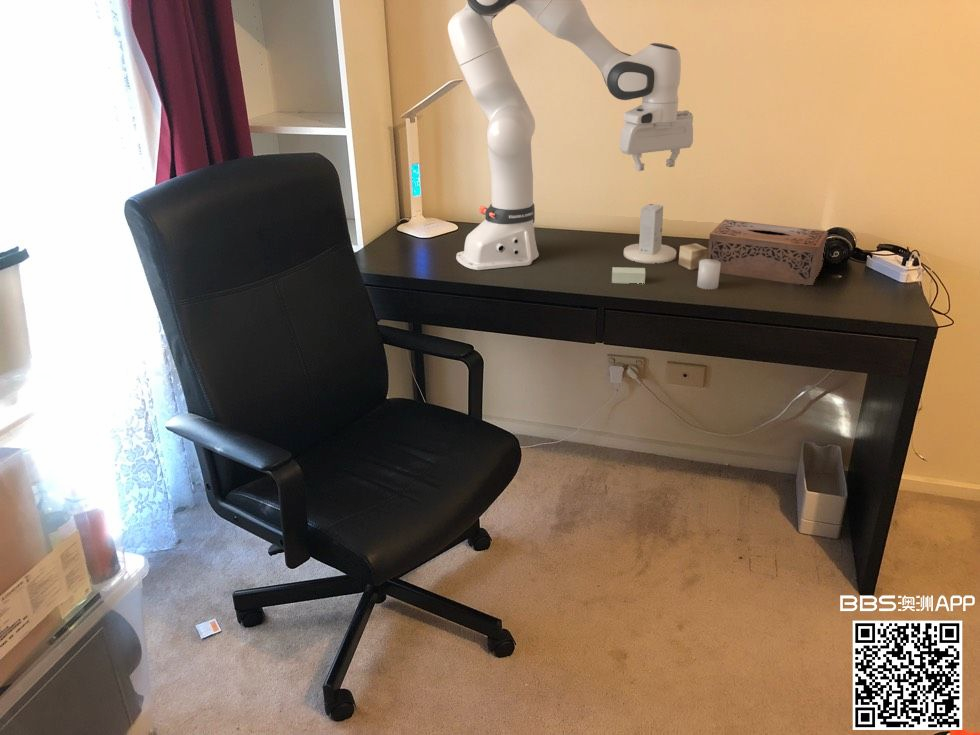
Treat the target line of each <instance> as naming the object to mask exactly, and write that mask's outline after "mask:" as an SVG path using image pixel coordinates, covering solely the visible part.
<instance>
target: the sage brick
mask: <svg viewBox="0 0 980 735" xmlns="http://www.w3.org/2000/svg"><path fill="white" fill-rule="evenodd" d="M645 281H646V268H645V267H619V266H617V267H614V266H612V270H611V283H612V284H629V283H637V285H640V284H639V283H642V284H641V285H645V284H646V282H645ZM643 283H644V284H643Z"/></svg>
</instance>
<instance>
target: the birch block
mask: <svg viewBox="0 0 980 735" xmlns="http://www.w3.org/2000/svg"><path fill="white" fill-rule="evenodd" d="M678 252H679V254H678V265H679V266H682V267H684V268H685V269H688V270H695V269H696V270H697V269H699V261H700V260H703V259H707V257H708V248H707V247H705V246H703V245H700V244H698V243H690V244H684V245H680V246H679V251H678Z"/></svg>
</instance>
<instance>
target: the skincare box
mask: <svg viewBox="0 0 980 735" xmlns="http://www.w3.org/2000/svg"><path fill="white" fill-rule="evenodd" d="M663 216H664V205H661V204H654V203H653V204H652V203H649V204H647V205H645V206H643V207H642V208H641V209H640V223H639V240H638V244H639V253H643V254H650V255H653V254H655V253H656V252H658V251H659V250H660V249H661V244H662V237H663V219H664V218H663Z"/></svg>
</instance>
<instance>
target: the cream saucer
mask: <svg viewBox="0 0 980 735" xmlns="http://www.w3.org/2000/svg"><path fill="white" fill-rule="evenodd" d="M623 257H624V258H625V259H627V260H629V261H631V262H634V261H635V263H640V264H648V265H651V264H654V265H655V263H657V264H665V262H666V263H669V262H672V261H673V260H676V258H677V250H676V248H673V247H672V246H670V245H667V244H662V243H661V249H660V250H659V251H658V252H656V253H655V254H653V255H650V254H643V253H639V243H633V244H629V245H627V246H625V247H624V249H623Z"/></svg>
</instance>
